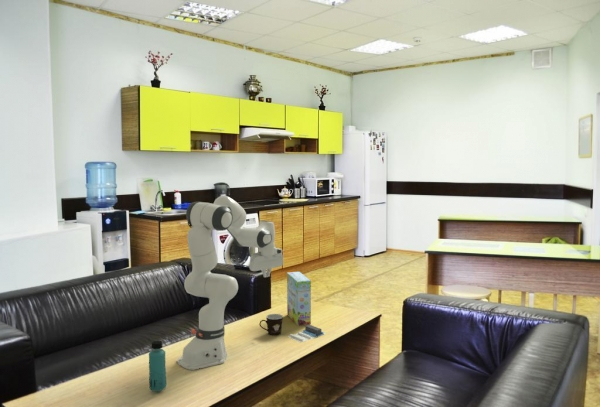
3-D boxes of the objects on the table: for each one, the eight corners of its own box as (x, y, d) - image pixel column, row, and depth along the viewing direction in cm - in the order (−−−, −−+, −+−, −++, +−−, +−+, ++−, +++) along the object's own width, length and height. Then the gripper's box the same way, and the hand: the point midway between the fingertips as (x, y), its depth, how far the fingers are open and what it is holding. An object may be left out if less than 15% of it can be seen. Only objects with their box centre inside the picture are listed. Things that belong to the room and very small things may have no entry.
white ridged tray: (300, 344, 232) (300, 340, 232) (287, 338, 240) (287, 334, 239) (326, 335, 244) (326, 331, 244) (312, 330, 252) (312, 326, 252)
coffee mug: (283, 332, 248) (283, 314, 247) (281, 338, 239) (281, 319, 238) (262, 331, 249) (262, 313, 248) (259, 337, 241) (259, 318, 240)
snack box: (285, 314, 277) (286, 271, 274) (299, 313, 279) (300, 271, 277) (296, 327, 256) (297, 281, 254) (311, 325, 259) (312, 280, 256)
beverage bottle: (168, 387, 187) (167, 338, 186) (164, 395, 181) (163, 345, 179) (151, 387, 187) (150, 338, 185) (146, 395, 181) (145, 345, 179)
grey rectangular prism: (317, 336, 241) (317, 330, 240) (305, 331, 247) (305, 325, 247) (321, 334, 243) (321, 329, 242) (309, 330, 249) (309, 324, 249)
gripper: (254, 254, 238) (254, 281, 239) (285, 249, 251) (284, 275, 253) (246, 252, 242) (246, 279, 243) (277, 247, 256) (277, 272, 257)
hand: (266, 276), depth 248 cm, fingers closed
